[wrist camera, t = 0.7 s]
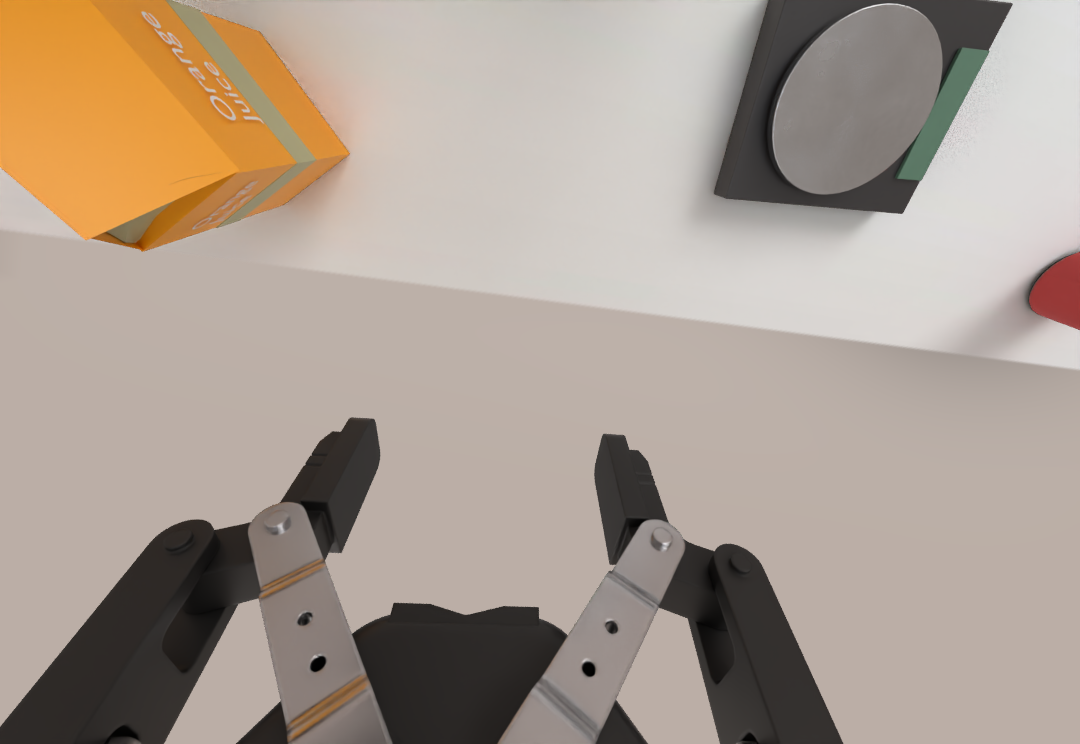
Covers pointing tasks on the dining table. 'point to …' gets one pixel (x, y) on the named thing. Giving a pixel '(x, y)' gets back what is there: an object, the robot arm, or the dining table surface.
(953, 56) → the scale
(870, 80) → the platter
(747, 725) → the robot arm
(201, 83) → the orange juice
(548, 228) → the dining table surface
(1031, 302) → the beer can
